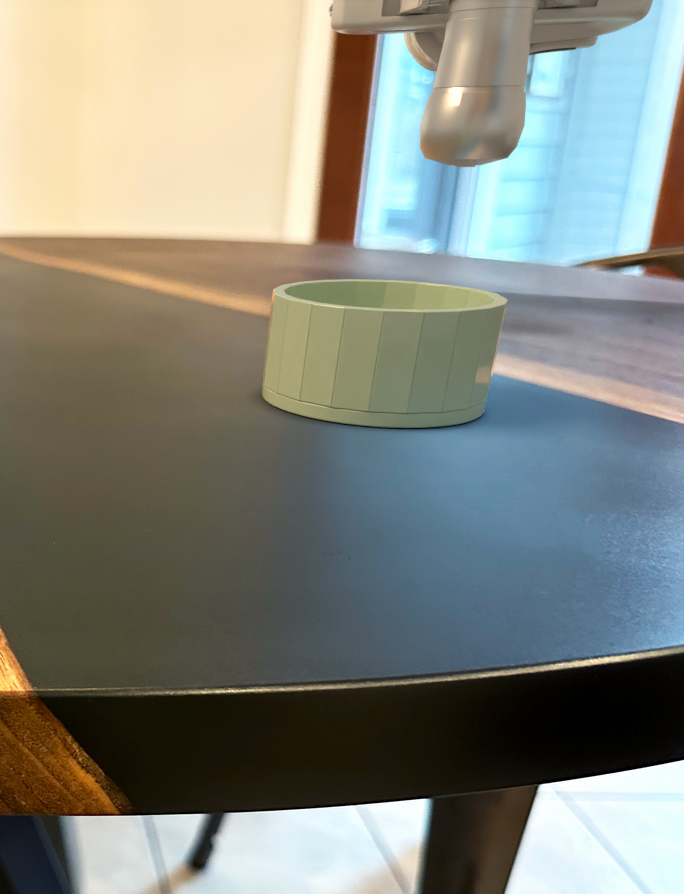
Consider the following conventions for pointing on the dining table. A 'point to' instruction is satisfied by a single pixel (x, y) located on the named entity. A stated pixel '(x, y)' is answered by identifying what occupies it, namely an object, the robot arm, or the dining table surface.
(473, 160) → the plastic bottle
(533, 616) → the dining table surface
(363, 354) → the round open container
